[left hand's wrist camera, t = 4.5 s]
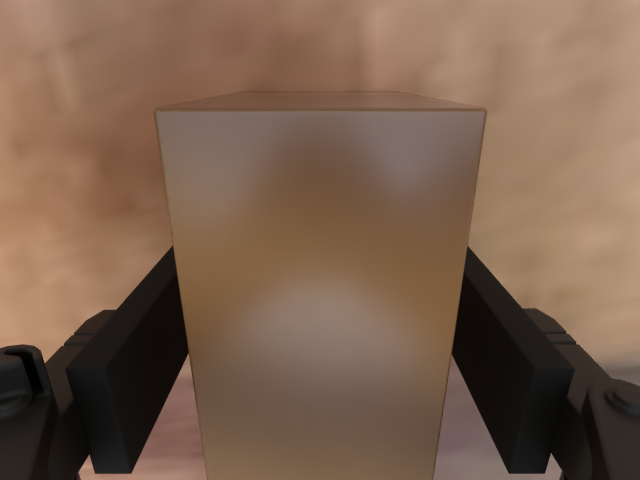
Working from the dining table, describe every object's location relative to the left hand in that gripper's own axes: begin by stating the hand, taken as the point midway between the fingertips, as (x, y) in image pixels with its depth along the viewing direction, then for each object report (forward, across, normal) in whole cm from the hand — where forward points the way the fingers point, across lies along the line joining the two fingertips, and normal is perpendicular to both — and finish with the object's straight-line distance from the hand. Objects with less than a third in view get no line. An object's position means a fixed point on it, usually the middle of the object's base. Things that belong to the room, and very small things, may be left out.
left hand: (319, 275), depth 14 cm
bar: (+1, 0, -30) cm, 30 cm away
